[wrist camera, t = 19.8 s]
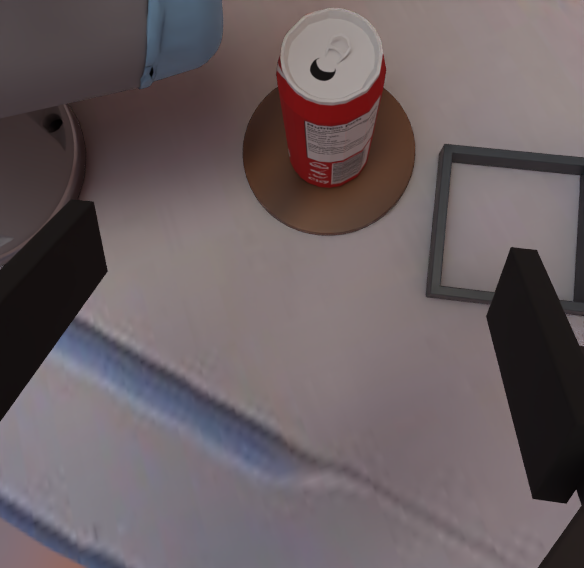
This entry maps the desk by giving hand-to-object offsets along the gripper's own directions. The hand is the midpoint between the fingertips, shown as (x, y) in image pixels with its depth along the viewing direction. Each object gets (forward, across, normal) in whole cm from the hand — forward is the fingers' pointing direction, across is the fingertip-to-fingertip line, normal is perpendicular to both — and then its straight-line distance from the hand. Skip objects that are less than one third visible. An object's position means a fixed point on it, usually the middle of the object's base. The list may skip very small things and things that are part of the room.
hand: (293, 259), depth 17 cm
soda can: (+21, 0, -5) cm, 22 cm away
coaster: (+22, 0, -5) cm, 22 cm away
